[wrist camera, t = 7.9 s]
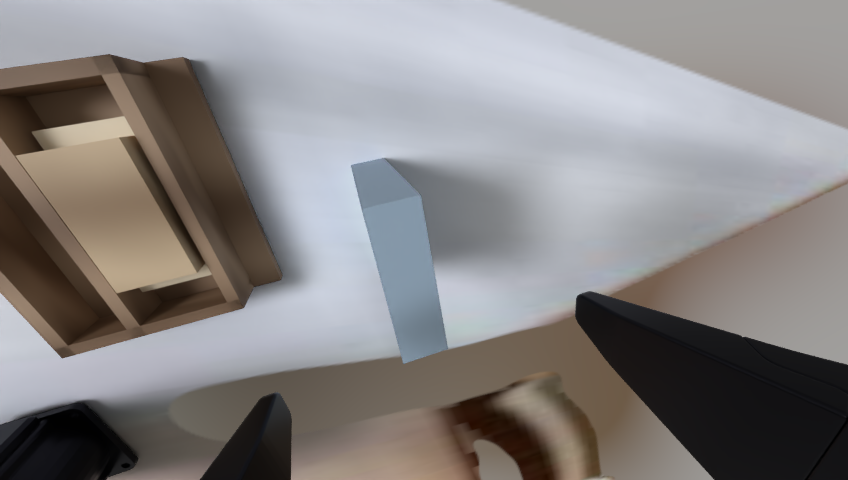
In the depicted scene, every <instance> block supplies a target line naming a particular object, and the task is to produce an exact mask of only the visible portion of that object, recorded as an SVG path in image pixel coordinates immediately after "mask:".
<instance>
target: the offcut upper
mask: <svg viewBox="0 0 848 480" xmlns="http://www.w3.org/2000/svg"><path fill="white" fill-rule="evenodd" d="M16 157H17V159H18V160H19V162H20V163H21V164H22V166H23V167H24V168H25V170H26V171H27V172H28V174H29V175H30V176H31V178H32V179H33V181H34V182H35V183H36V185H37V186H38V187H39V189H40V190H41V191H42V193H43V194H44V195H45V197H46V198H47V200H48V201H49V202H50V204H51V205H52V206H53V208H54V209H55V210H56V212H57V213H58V214H59V216H60V217H61V219H62V220H63V221H64V223H65V224H66V225H67V227H68V228H69V229H70V231H71V232H72V233H73V235H74V236H75V237H76V239H77V240H78V242H79V243H80V244H81V246H82V247H83V248H84V250H85V251H86V252H87V254H88V255H89V256H90V258H91V259H92V261H93V262H94V263H95V265H96V266H97V267H98V269H99V270H100V271H101V273H102V274H103V275H104V277H105V278H106V280H107V281H108V282H109V284H110V285H111V286H112V288H113V289H114V290H115V292H116V293H120V292H124V291H128V290H132V289H136V288H140V287H144V286H148V285H152V284H156V283H160V282H164V281H167V280H171V279H175V278H179V277H183V276H187V275H191V274H195V273H198V271H199V270H200V269H201V268H202V267H203V266H204V264H205V261H204V259H203V258H202V256H201V254H200V252H199V250H198V249H197V247H196V245H195V243H194V241H193V240H192V238H191V236H190V234H189V232H188V231H187V229H186V227H185V225H184V223H183V221H182V220H181V218H180V216H179V214H178V212H177V211H176V209H175V207H174V205H173V203H172V202H171V200H170V198H169V196H168V194H167V193H166V191H165V189H164V187H163V185H162V184H161V182H160V180H159V178H158V176H157V174H156V173H155V171H154V169H153V167H152V165H151V164H150V162H149V160H148V158H147V156H146V155H145V153H144V151H143V149H142V147H141V146H140V144H139V142H138V140H137V138H136V137H135V136H127V137H118V138H113V139H107V140H101V141H96V142H90V143H84V144H79V145H73V146H67V147H62V148H56V149H50V150H45V151H39V152H33V153H28V154H22V155H17V156H16Z"/></svg>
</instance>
